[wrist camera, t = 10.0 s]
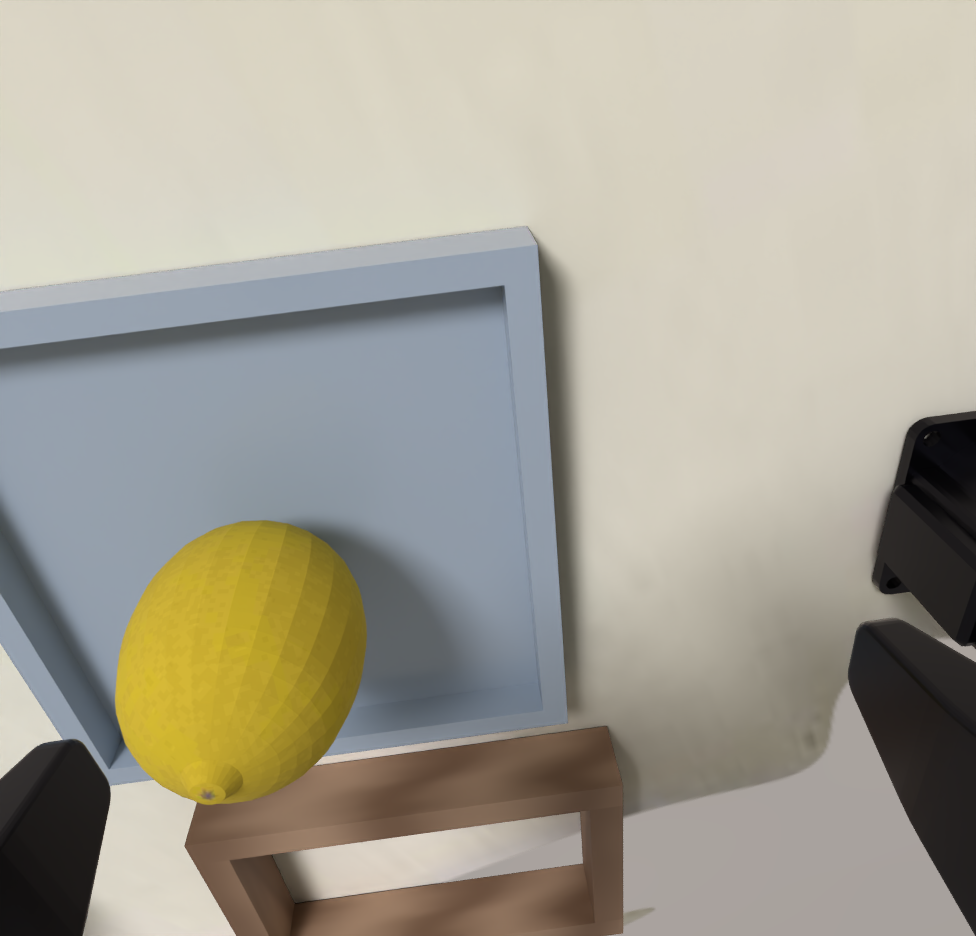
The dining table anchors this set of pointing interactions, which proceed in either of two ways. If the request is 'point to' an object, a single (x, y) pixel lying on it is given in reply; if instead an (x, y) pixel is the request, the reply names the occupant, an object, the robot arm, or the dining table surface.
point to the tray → (292, 470)
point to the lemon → (241, 662)
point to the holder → (423, 809)
